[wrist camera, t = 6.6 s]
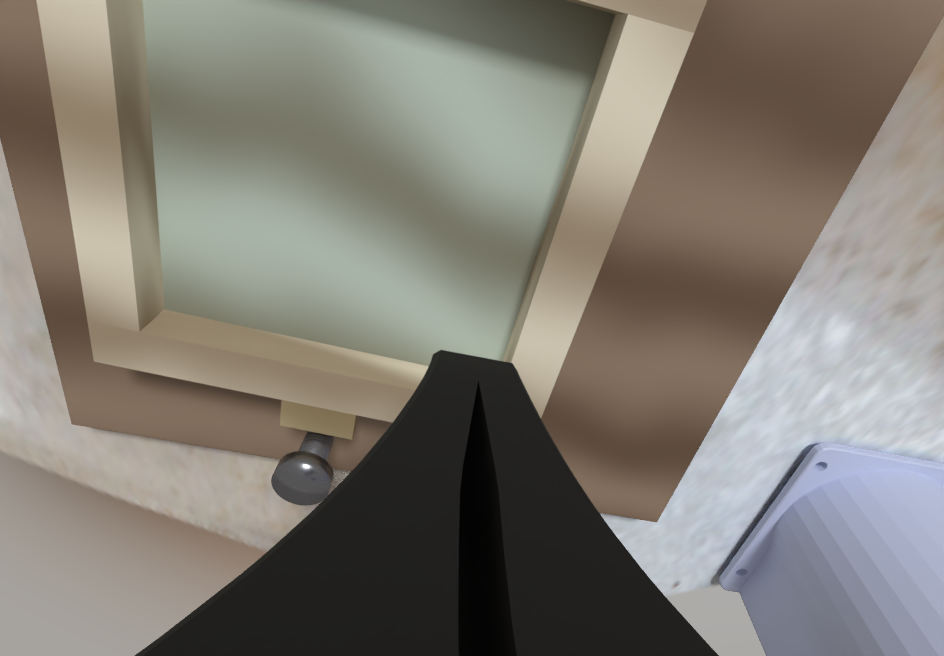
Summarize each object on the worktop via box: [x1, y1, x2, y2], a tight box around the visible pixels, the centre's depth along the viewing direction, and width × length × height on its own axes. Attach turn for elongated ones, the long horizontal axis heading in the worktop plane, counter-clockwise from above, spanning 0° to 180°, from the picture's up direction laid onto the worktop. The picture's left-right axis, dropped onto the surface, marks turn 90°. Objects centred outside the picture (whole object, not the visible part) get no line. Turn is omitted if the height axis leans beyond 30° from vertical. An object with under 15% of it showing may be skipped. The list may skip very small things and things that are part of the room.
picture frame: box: [36, 0, 707, 440], centre depth 15 cm, size 15×14×2 cm
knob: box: [271, 431, 336, 505], centre depth 19 cm, size 2×2×5 cm
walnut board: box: [0, 0, 944, 522], centre depth 16 cm, size 23×24×1 cm
